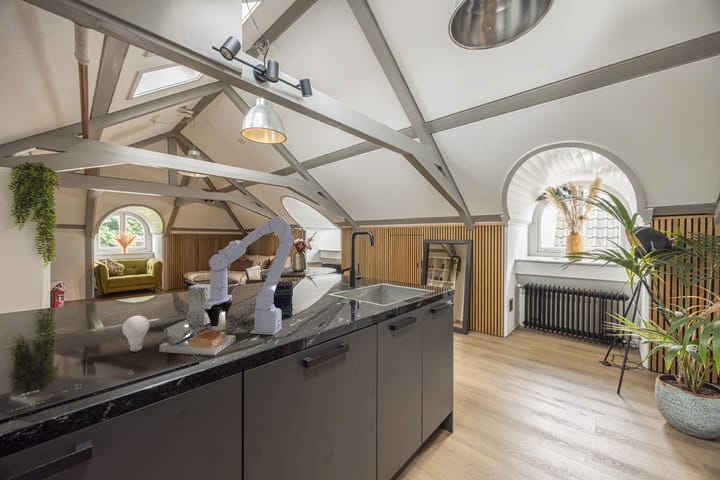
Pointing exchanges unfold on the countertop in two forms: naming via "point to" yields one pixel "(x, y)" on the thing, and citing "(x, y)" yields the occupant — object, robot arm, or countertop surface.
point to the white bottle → (220, 322)
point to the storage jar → (284, 299)
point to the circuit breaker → (198, 302)
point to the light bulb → (135, 331)
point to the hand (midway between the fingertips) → (218, 323)
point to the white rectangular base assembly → (194, 339)
